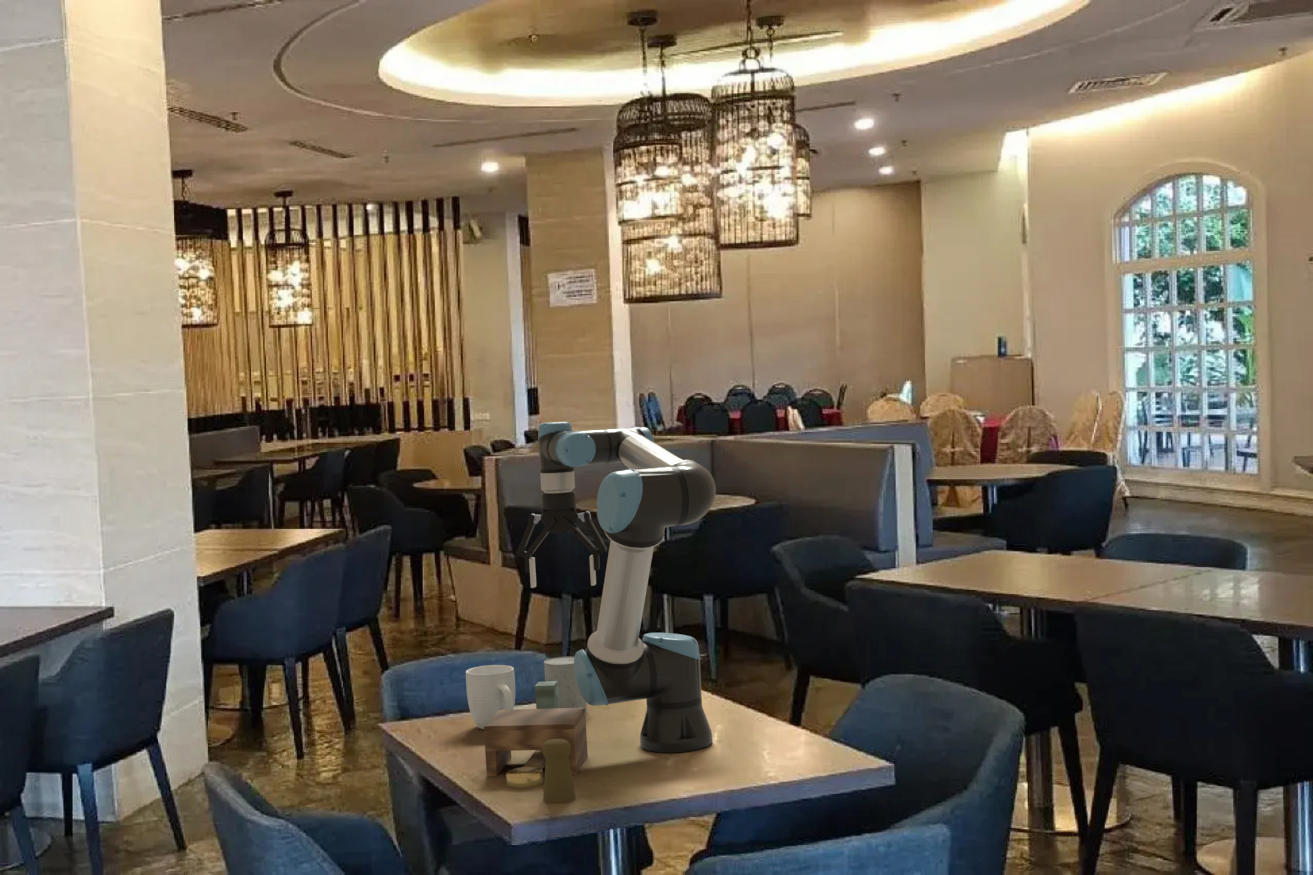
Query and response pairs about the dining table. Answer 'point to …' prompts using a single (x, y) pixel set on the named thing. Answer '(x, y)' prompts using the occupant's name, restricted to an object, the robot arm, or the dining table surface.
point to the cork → (557, 772)
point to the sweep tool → (544, 700)
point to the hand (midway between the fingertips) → (563, 586)
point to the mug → (489, 691)
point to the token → (524, 777)
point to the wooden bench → (534, 734)
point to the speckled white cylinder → (565, 682)
